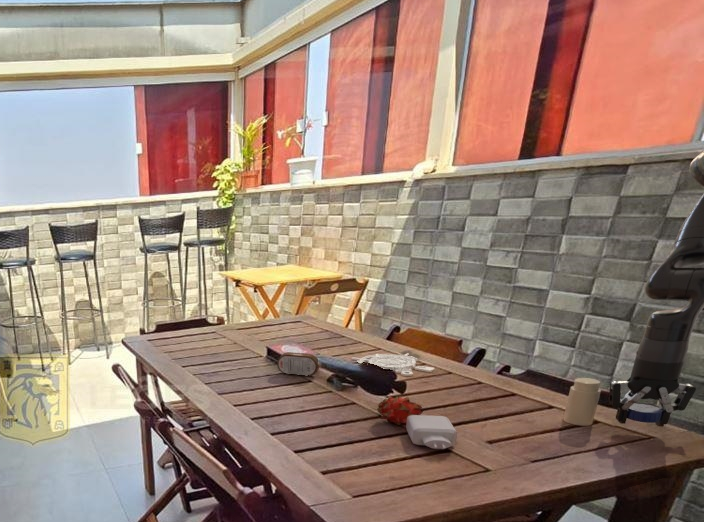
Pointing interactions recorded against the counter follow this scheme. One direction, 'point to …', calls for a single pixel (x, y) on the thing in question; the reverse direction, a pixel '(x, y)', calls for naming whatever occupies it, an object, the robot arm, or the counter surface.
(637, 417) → the jar lid
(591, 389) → the jar
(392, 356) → the pendant
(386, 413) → the dragon fruit
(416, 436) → the charger
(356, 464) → the counter surface
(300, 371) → the tin
